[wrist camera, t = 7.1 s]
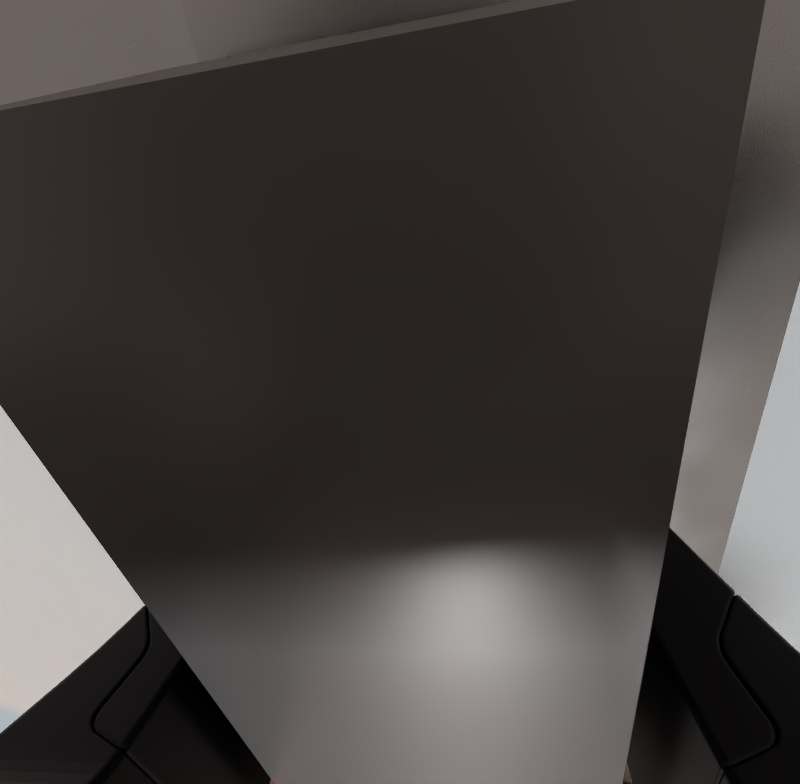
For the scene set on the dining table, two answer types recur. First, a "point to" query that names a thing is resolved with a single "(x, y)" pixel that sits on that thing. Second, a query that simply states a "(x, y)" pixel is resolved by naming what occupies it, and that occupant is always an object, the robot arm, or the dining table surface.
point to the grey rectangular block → (387, 366)
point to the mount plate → (397, 3)
